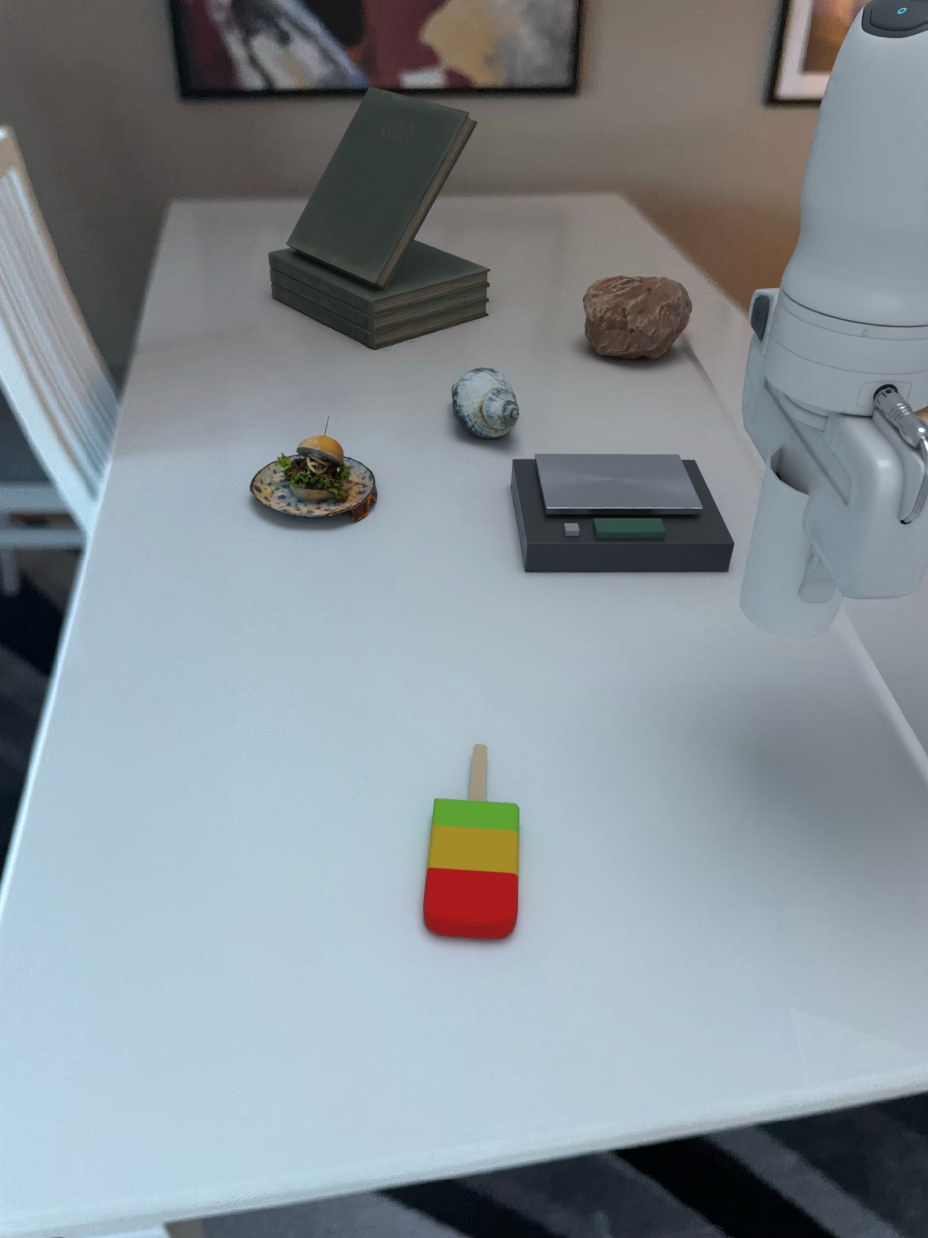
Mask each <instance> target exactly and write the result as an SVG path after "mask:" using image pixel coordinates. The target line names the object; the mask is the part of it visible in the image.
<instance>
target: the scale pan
mask: <svg viewBox="0 0 928 1238" xmlns="http://www.w3.org/2000/svg"><path fill="white" fill-rule="evenodd" d="M533 459H534V460H535V465H536V470H537V474H538V479H539V484H540V489H541V493H542V498H543V503H544V507H545V512H546V514H690V515H701V514H702V512H703V507H702V504H701V502H700V500H699V498H698V496H697V493H696V491H695V489H694V487H693V485H692V482H691V480H690V478H689V476H688V473H687V471H686V469H685V467H684V465H683V462H682V460H683V459H682V458H681V456H680V454H678V453H677V454H676V453H674V454H673V453H668V454H667V453H662V454H661V453H660V454H659V453H640V454H639V453H535V454H534V458H533Z"/></svg>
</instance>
